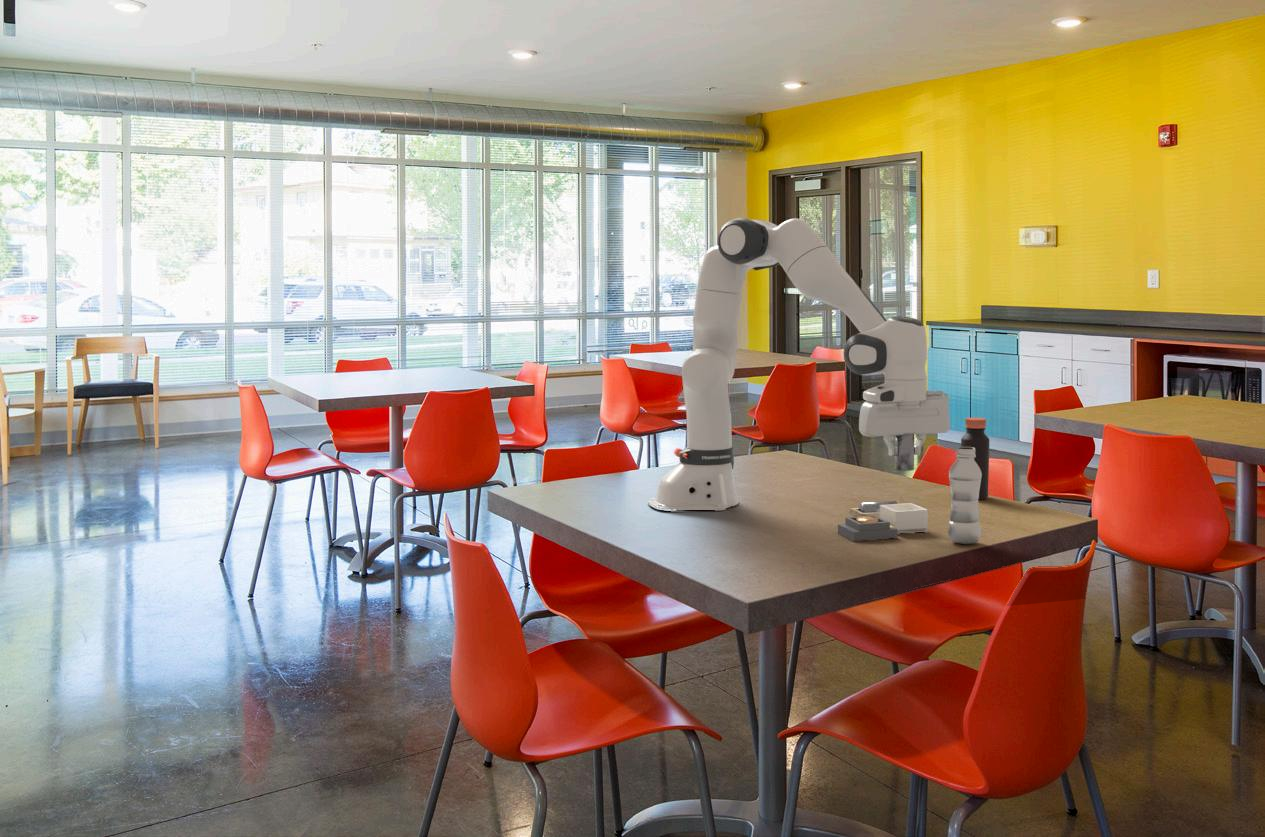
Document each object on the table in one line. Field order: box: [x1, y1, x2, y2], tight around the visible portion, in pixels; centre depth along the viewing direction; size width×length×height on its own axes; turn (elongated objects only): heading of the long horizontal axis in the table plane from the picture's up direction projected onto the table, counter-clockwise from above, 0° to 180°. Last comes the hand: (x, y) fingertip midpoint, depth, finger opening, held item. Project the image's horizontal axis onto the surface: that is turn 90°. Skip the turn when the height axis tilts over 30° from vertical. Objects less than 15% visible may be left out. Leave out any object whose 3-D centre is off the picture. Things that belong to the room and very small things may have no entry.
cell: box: [894, 434, 915, 472], centre depth 231 cm, size 4×4×9 cm
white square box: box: [880, 502, 929, 535], centre depth 233 cm, size 8×8×5 cm
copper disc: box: [856, 517, 878, 523], centre depth 228 cm, size 5×5×1 cm
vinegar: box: [960, 417, 990, 500], centre depth 266 cm, size 7×7×20 cm
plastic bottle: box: [947, 446, 982, 545], centre depth 219 cm, size 6×7×20 cm
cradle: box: [837, 516, 898, 542], centre depth 228 cm, size 10×8×4 cm
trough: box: [849, 507, 880, 517], centre depth 240 cm, size 11×6×3 cm, turn 103°
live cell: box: [857, 500, 898, 513], centre depth 240 cm, size 9×4×4 cm, turn 103°
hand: (904, 455), depth 231 cm, fingers closed on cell, 4 cm apart
